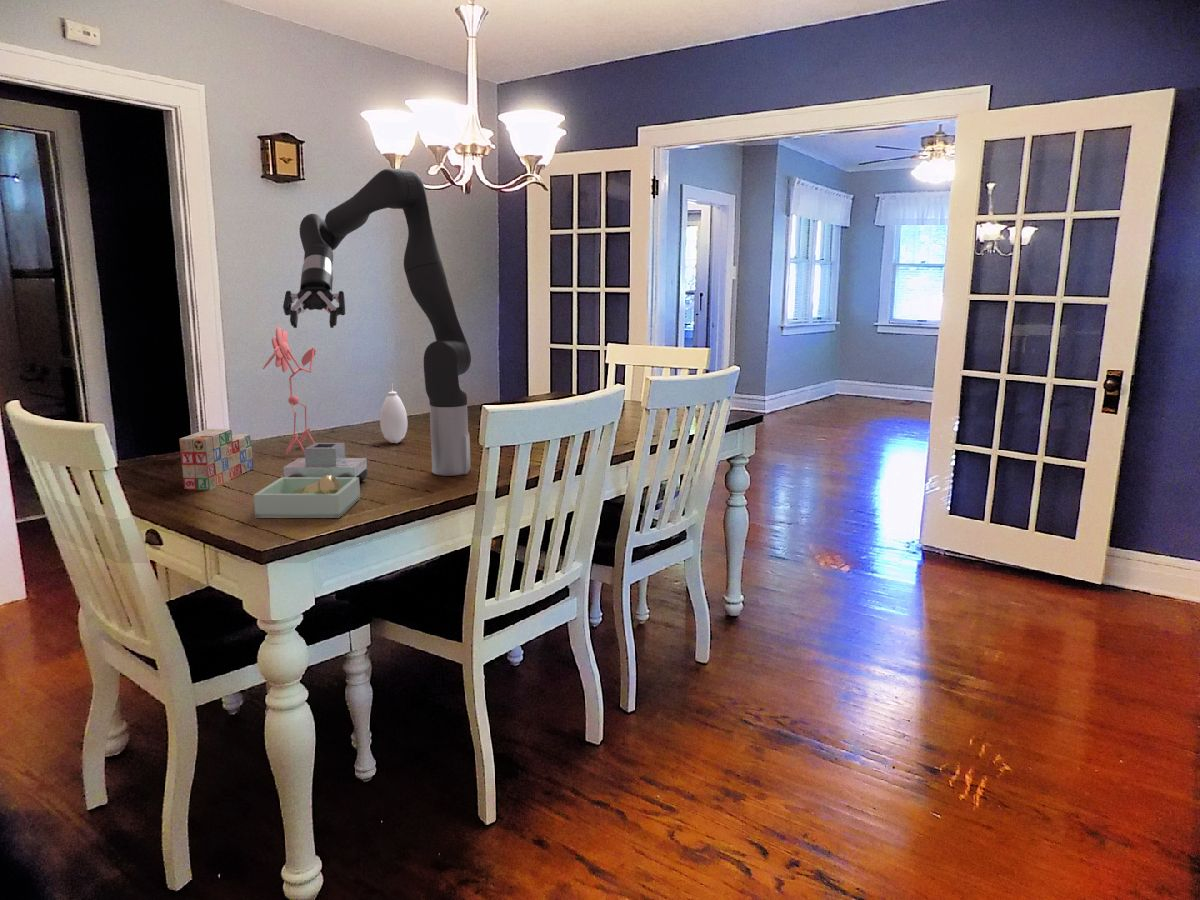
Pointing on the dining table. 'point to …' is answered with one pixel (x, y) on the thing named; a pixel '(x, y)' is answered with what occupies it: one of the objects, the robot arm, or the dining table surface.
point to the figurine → (282, 355)
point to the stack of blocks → (214, 458)
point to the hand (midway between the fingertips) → (313, 325)
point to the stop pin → (321, 486)
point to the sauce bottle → (393, 418)
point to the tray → (305, 499)
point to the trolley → (327, 463)
